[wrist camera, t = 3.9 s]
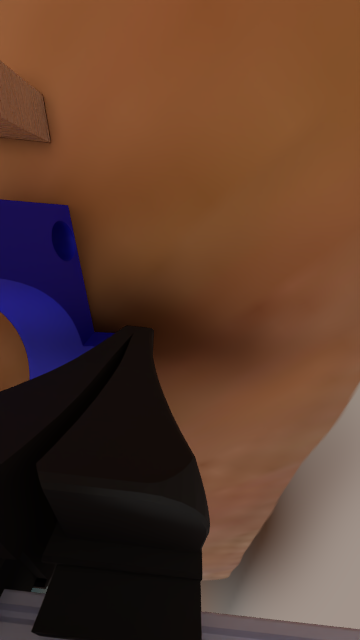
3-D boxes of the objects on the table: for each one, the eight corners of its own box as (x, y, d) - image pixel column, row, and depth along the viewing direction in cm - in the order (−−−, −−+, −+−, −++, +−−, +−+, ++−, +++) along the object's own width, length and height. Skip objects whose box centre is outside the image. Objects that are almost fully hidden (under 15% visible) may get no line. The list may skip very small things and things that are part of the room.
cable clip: (132, 404, 14) (94, 524, 8) (68, 400, 14) (-8, 515, 9) (106, 206, 8) (-58, 188, 3) (0, 203, 8) (-345, 181, 3)
